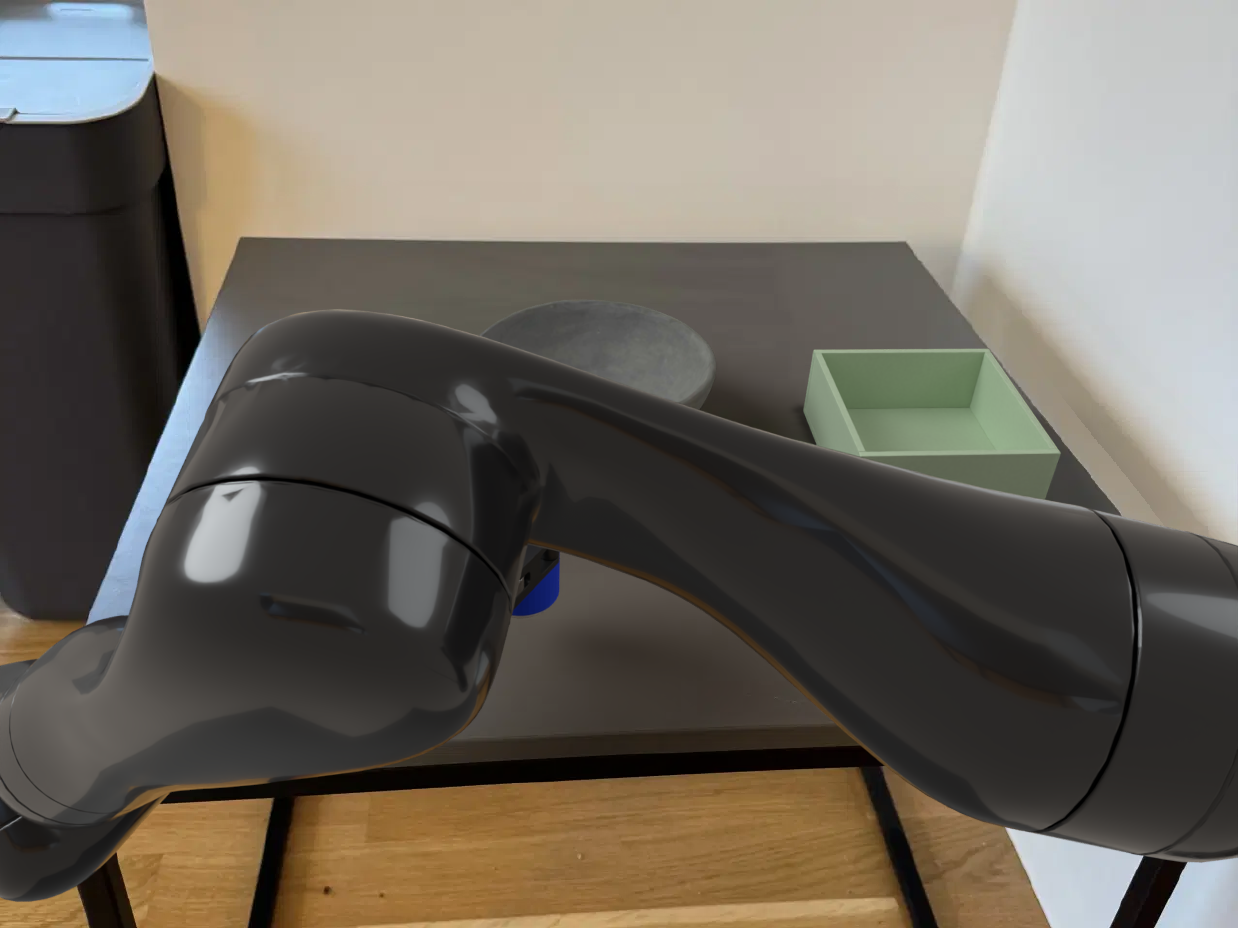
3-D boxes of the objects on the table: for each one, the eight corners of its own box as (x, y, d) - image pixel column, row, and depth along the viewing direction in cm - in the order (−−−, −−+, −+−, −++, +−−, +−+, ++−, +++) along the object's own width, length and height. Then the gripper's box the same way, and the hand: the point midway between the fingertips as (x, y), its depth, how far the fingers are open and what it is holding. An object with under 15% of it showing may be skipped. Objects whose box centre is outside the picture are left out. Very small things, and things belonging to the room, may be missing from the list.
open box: (1038, 518, 91) (1061, 453, 87) (846, 522, 89) (860, 456, 85) (971, 409, 104) (988, 348, 100) (803, 411, 102) (813, 349, 98)
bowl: (525, 529, 87) (524, 446, 82) (434, 397, 101) (429, 320, 97) (751, 464, 95) (762, 386, 90) (637, 351, 110) (641, 278, 105)
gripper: (407, 615, 54) (635, 471, 65) (244, 490, 62) (471, 380, 73) (418, 718, 59) (629, 568, 69) (264, 590, 66) (476, 472, 77)
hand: (547, 472), depth 71 cm, fingers closed on beverage can, 5 cm apart
